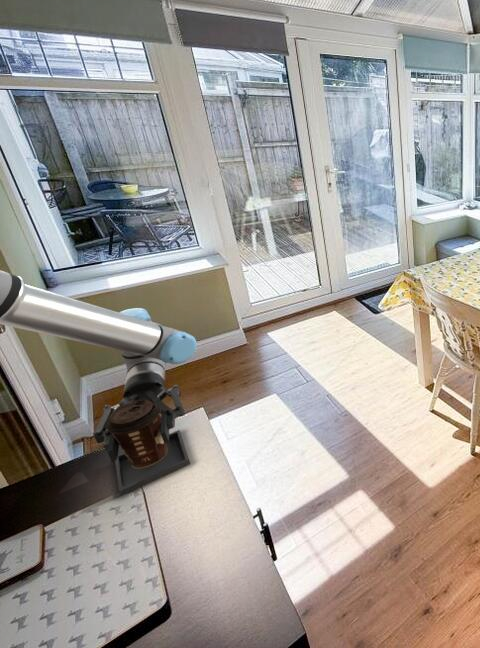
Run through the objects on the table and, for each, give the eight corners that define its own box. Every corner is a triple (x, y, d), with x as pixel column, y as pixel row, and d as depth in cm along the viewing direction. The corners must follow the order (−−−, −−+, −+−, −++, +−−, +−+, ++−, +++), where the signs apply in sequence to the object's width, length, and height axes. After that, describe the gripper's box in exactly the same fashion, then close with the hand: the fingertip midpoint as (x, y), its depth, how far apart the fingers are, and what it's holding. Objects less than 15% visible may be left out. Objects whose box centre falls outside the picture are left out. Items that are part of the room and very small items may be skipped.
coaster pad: (121, 497, 84) (118, 491, 83) (116, 462, 92) (114, 456, 91) (191, 465, 92) (188, 459, 91) (181, 435, 99) (179, 429, 98)
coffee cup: (165, 435, 96) (148, 391, 91) (182, 451, 92) (166, 406, 87) (117, 461, 89) (96, 415, 84) (135, 479, 85) (114, 432, 80)
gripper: (199, 382, 108) (204, 438, 91) (94, 414, 97) (77, 484, 80) (192, 358, 105) (195, 412, 88) (82, 388, 94) (61, 456, 77)
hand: (139, 446), depth 84 cm, fingers closed on coffee cup, 8 cm apart
